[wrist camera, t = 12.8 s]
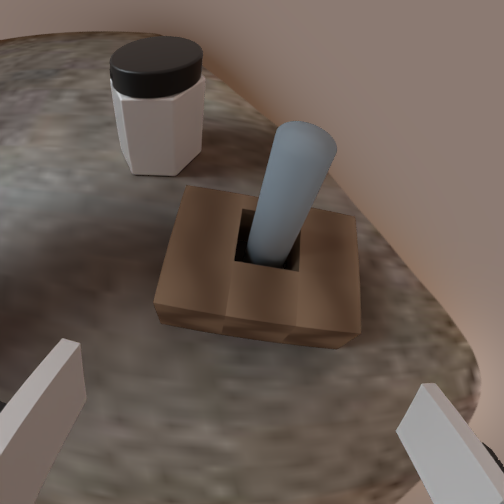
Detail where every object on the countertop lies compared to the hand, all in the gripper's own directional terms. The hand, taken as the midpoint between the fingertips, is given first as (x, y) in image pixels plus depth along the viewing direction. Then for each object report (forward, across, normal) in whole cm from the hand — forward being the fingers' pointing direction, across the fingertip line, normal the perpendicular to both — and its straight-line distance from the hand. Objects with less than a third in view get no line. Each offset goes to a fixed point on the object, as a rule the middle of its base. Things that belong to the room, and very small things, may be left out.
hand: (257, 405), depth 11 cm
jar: (+26, -11, +8) cm, 29 cm away
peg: (+17, +1, 0) cm, 17 cm away
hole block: (+16, +1, -1) cm, 16 cm away
